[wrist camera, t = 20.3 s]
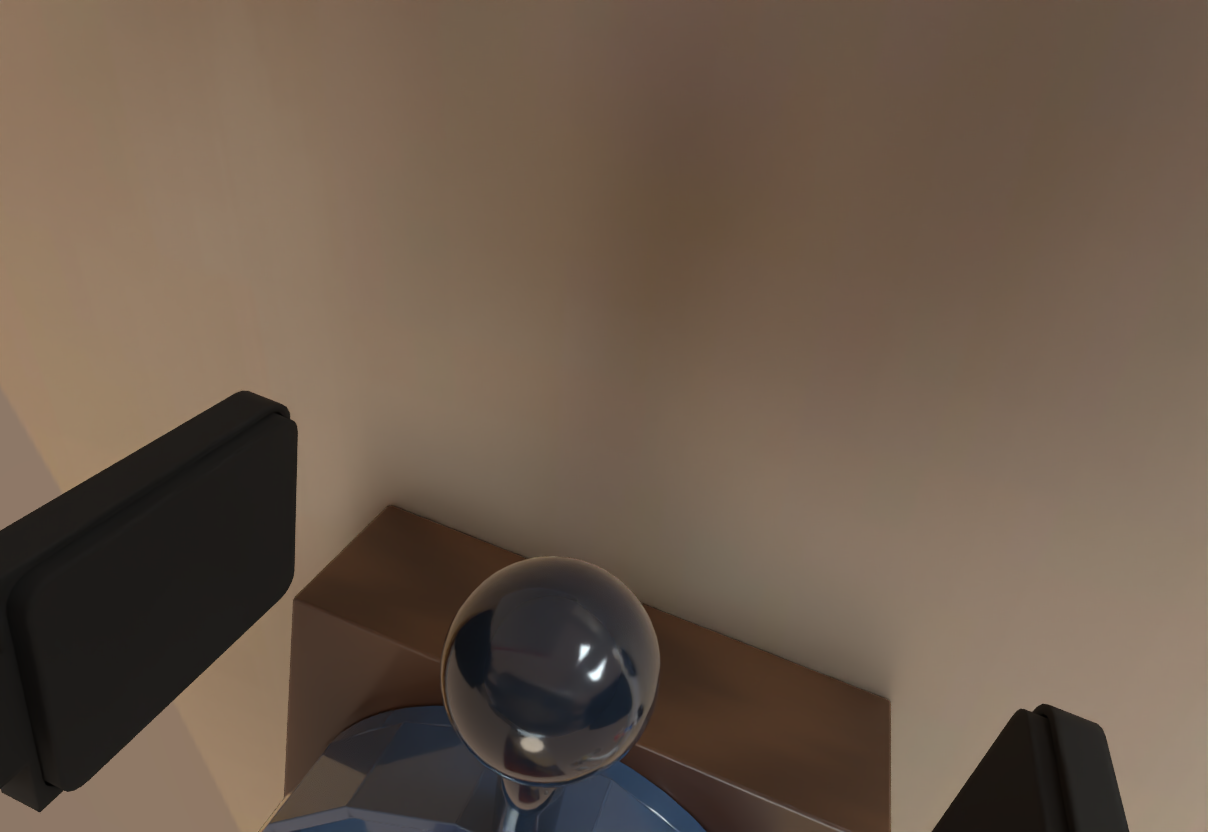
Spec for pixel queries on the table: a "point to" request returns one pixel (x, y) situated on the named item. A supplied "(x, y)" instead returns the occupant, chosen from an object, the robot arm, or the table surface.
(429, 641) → the stand
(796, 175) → the table surface
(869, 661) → the table surface
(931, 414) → the table surface
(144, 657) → the robot arm
